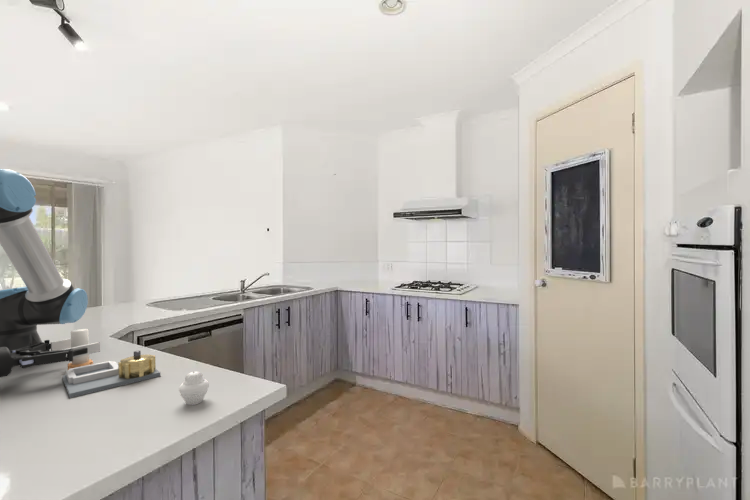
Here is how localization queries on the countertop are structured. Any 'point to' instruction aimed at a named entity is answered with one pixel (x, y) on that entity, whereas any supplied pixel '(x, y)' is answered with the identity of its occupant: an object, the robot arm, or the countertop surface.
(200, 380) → the muffin
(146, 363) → the sun gear
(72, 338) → the white cylinder orange base
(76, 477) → the countertop surface
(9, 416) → the countertop surface
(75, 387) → the carrier plate
